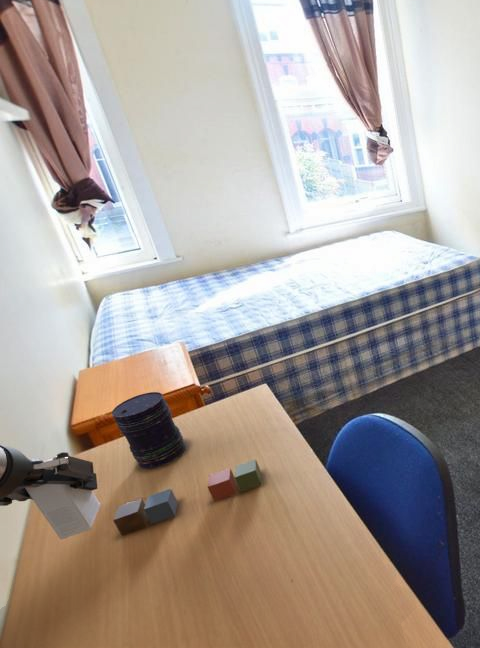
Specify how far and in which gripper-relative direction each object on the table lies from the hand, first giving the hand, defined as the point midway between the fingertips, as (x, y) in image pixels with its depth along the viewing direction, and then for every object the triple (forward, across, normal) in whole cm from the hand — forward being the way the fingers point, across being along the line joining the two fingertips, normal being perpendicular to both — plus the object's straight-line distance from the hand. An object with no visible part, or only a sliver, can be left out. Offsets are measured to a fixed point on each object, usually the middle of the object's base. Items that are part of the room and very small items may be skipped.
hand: (76, 487), depth 81 cm
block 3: (+16, +18, -6) cm, 25 cm away
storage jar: (+33, +2, +10) cm, 34 cm away
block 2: (+16, +7, -7) cm, 19 cm away
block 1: (+16, +2, -7) cm, 18 cm away
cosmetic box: (+1, 0, -6) cm, 6 cm away
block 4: (+16, +23, -6) cm, 29 cm away
